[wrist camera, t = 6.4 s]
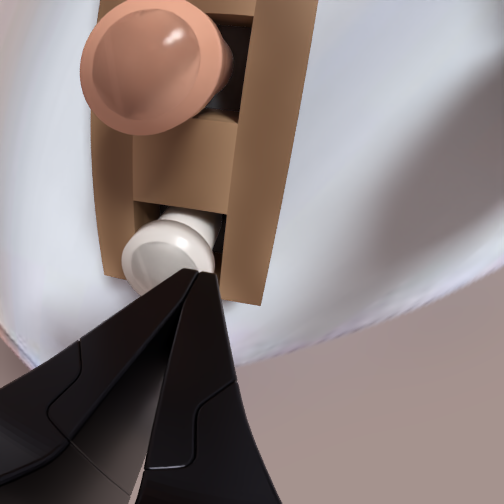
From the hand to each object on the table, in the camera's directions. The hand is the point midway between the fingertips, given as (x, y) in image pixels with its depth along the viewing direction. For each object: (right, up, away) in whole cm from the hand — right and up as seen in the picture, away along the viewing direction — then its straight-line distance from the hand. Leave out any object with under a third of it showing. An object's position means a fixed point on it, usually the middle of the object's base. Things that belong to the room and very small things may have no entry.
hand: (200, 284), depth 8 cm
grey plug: (-2, +3, +12) cm, 13 cm away
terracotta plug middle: (-1, +10, +5) cm, 11 cm away
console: (-1, +11, +7) cm, 13 cm away
